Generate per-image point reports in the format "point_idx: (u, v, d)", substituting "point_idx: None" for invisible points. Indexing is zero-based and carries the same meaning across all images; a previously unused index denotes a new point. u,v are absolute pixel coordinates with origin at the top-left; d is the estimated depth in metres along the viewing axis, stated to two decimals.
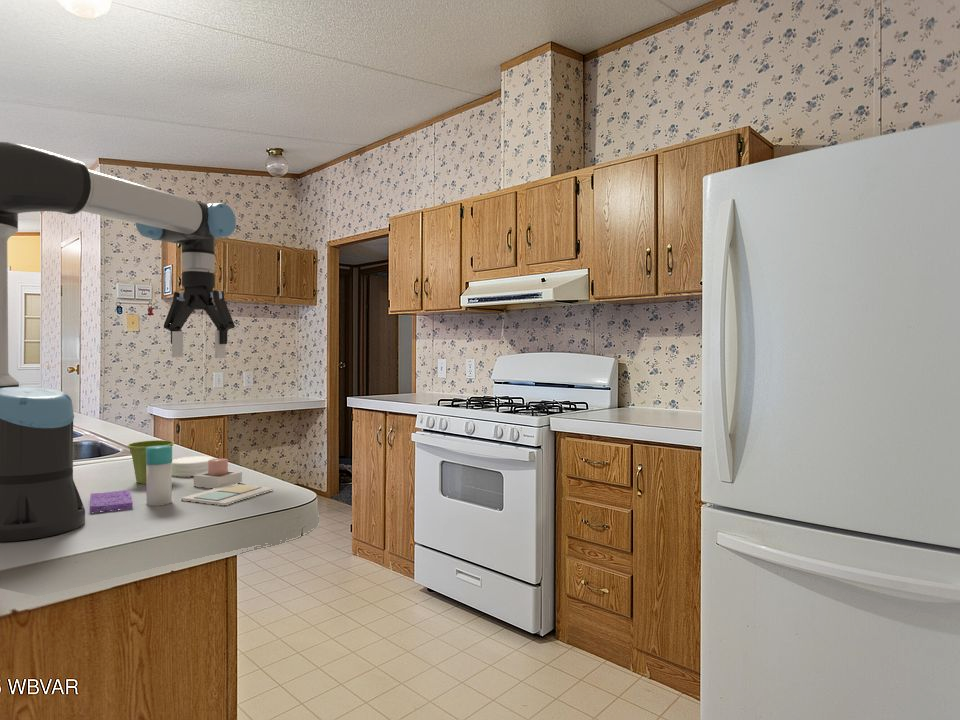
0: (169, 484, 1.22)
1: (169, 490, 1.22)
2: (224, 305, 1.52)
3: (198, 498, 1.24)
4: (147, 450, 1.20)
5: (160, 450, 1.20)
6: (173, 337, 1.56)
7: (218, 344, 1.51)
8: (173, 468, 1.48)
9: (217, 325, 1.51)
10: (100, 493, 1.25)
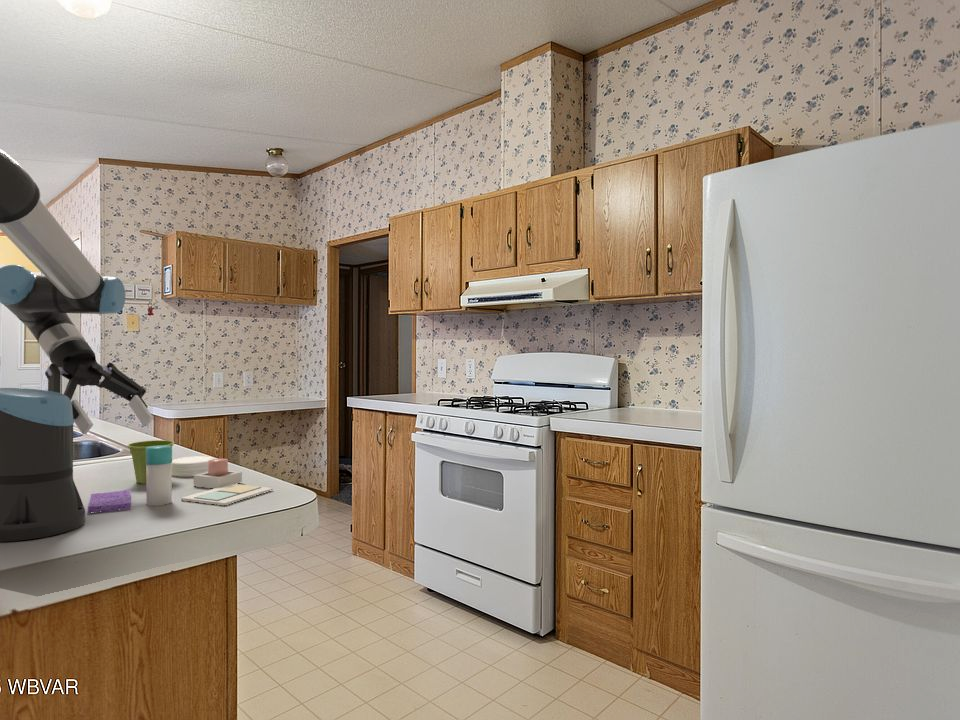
0: (169, 484, 1.22)
1: (169, 490, 1.22)
2: None
3: (198, 498, 1.24)
4: (147, 450, 1.20)
5: (160, 450, 1.20)
6: (79, 405, 1.21)
7: None
8: (173, 468, 1.48)
9: (133, 390, 1.34)
10: (100, 493, 1.25)
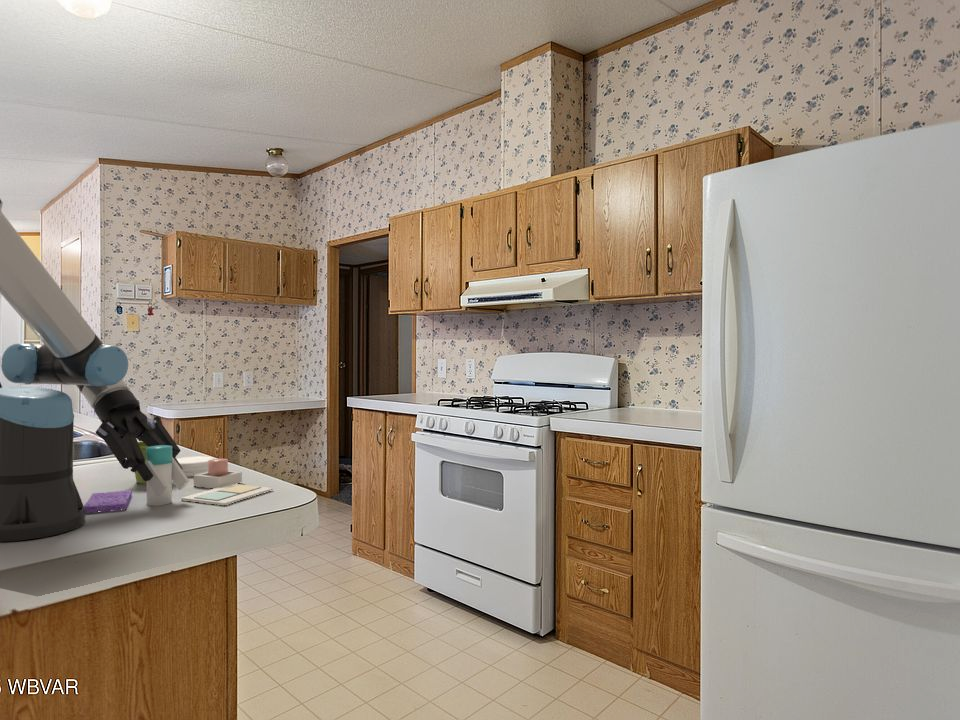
0: (169, 484, 1.22)
1: (169, 490, 1.22)
2: None
3: (198, 498, 1.24)
4: (147, 450, 1.20)
5: (160, 450, 1.20)
6: (152, 466, 1.20)
7: None
8: None
9: None
10: (102, 493, 1.26)
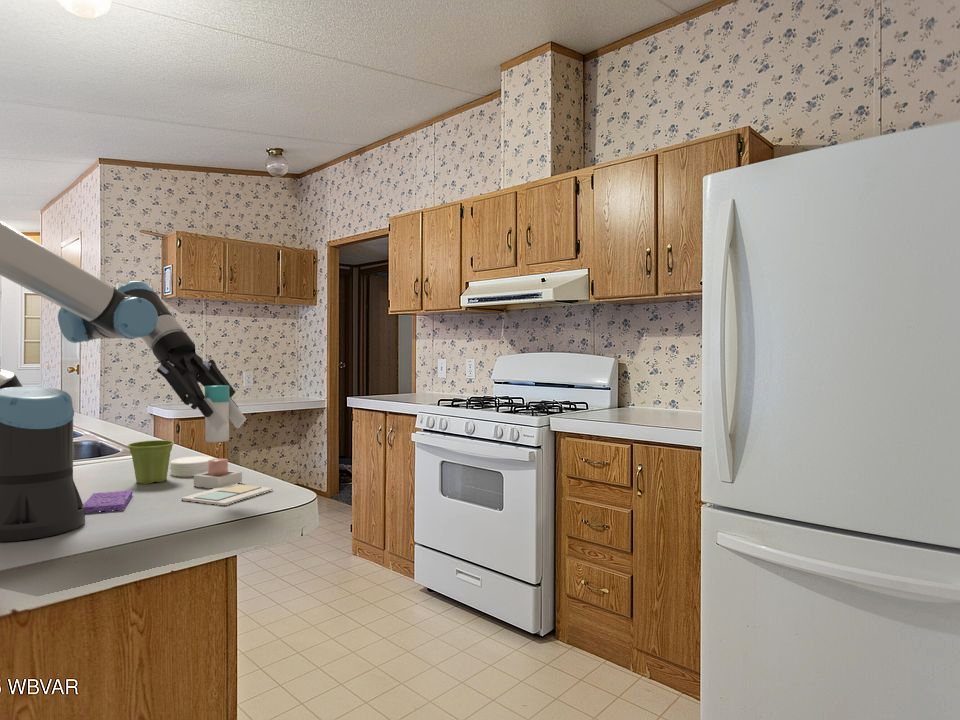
0: (227, 422, 1.26)
1: (227, 428, 1.26)
2: None
3: (198, 498, 1.24)
4: (206, 388, 1.24)
5: (219, 388, 1.24)
6: (212, 403, 1.23)
7: None
8: (173, 468, 1.48)
9: None
10: (102, 493, 1.26)
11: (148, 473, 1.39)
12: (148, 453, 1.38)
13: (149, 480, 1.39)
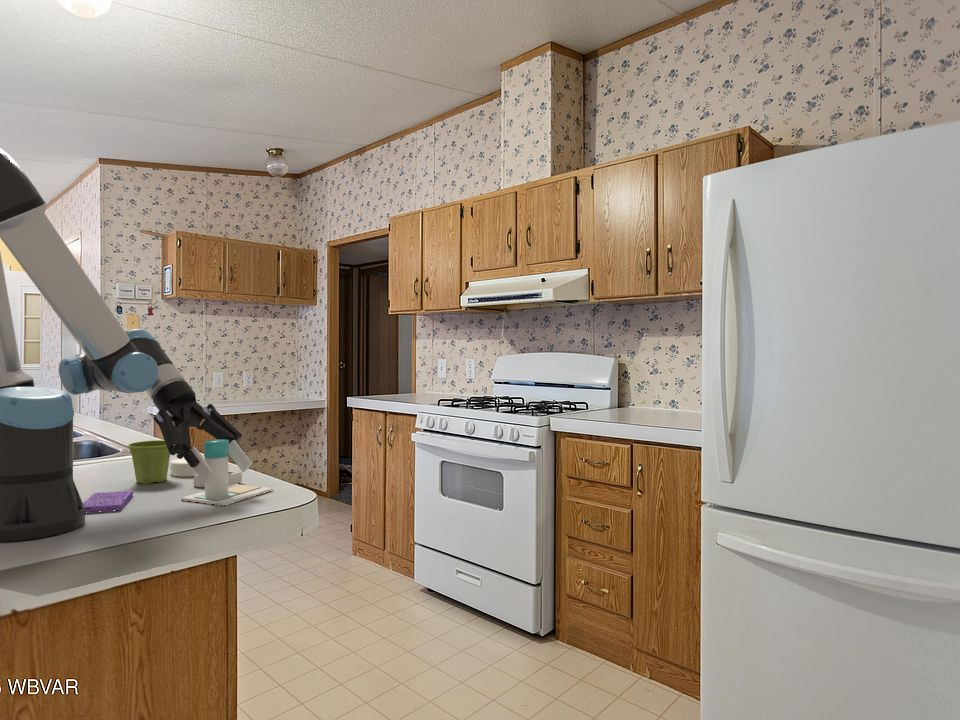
0: (226, 477, 1.26)
1: (226, 483, 1.26)
2: None
3: (198, 498, 1.24)
4: (206, 444, 1.24)
5: (218, 444, 1.24)
6: (199, 453, 1.21)
7: None
8: (173, 468, 1.48)
9: (231, 434, 1.32)
10: (103, 493, 1.26)
11: (148, 473, 1.39)
12: (148, 453, 1.38)
13: (149, 480, 1.39)
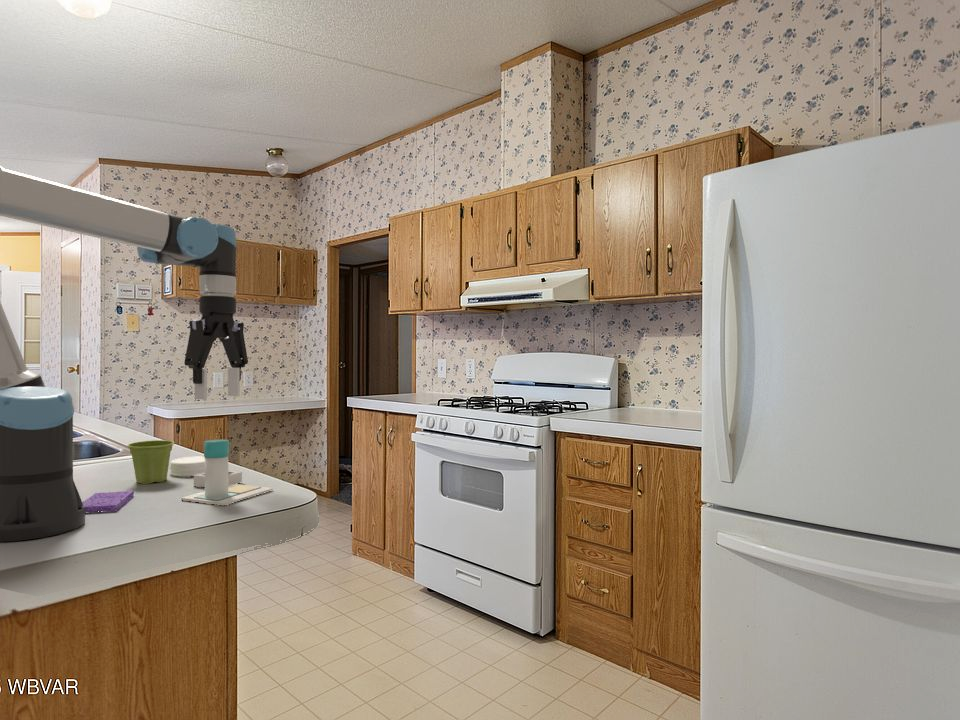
0: (226, 477, 1.26)
1: (226, 483, 1.26)
2: None
3: (198, 498, 1.24)
4: (206, 444, 1.24)
5: (218, 444, 1.24)
6: (206, 376, 1.34)
7: None
8: (173, 468, 1.48)
9: (239, 360, 1.43)
10: (104, 493, 1.26)
11: (148, 473, 1.39)
12: (148, 453, 1.38)
13: (149, 480, 1.39)
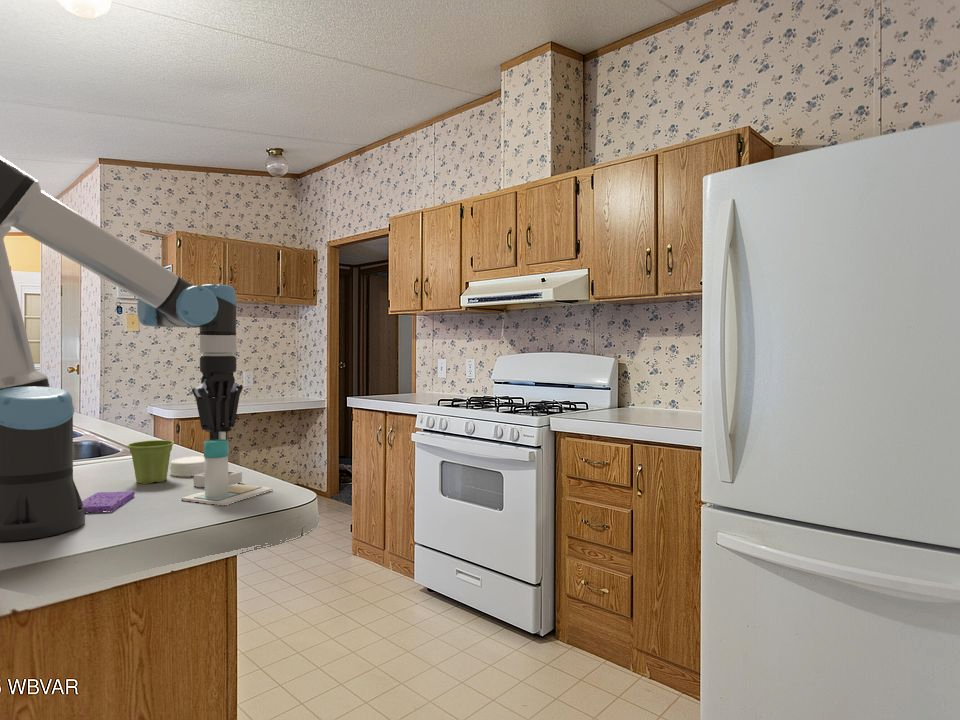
0: (226, 477, 1.26)
1: (226, 483, 1.26)
2: None
3: (198, 498, 1.24)
4: (205, 444, 1.24)
5: (218, 444, 1.24)
6: None
7: None
8: (173, 468, 1.48)
9: (227, 423, 1.40)
10: (105, 492, 1.26)
11: (148, 473, 1.39)
12: (148, 453, 1.38)
13: (149, 480, 1.39)
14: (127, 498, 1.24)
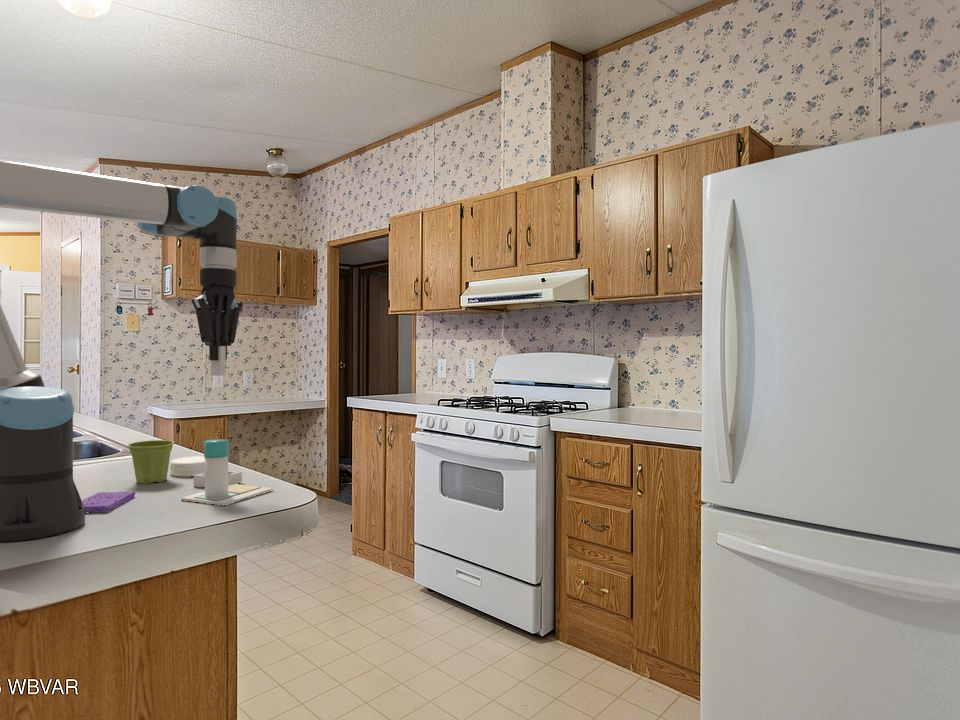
0: (226, 477, 1.26)
1: (226, 483, 1.26)
2: None
3: (198, 498, 1.24)
4: (206, 444, 1.24)
5: (218, 443, 1.24)
6: (222, 353, 1.38)
7: None
8: (173, 468, 1.48)
9: (227, 338, 1.39)
10: (106, 492, 1.26)
11: (148, 473, 1.39)
12: (148, 453, 1.38)
13: (149, 480, 1.39)
14: (126, 498, 1.23)
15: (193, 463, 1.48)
